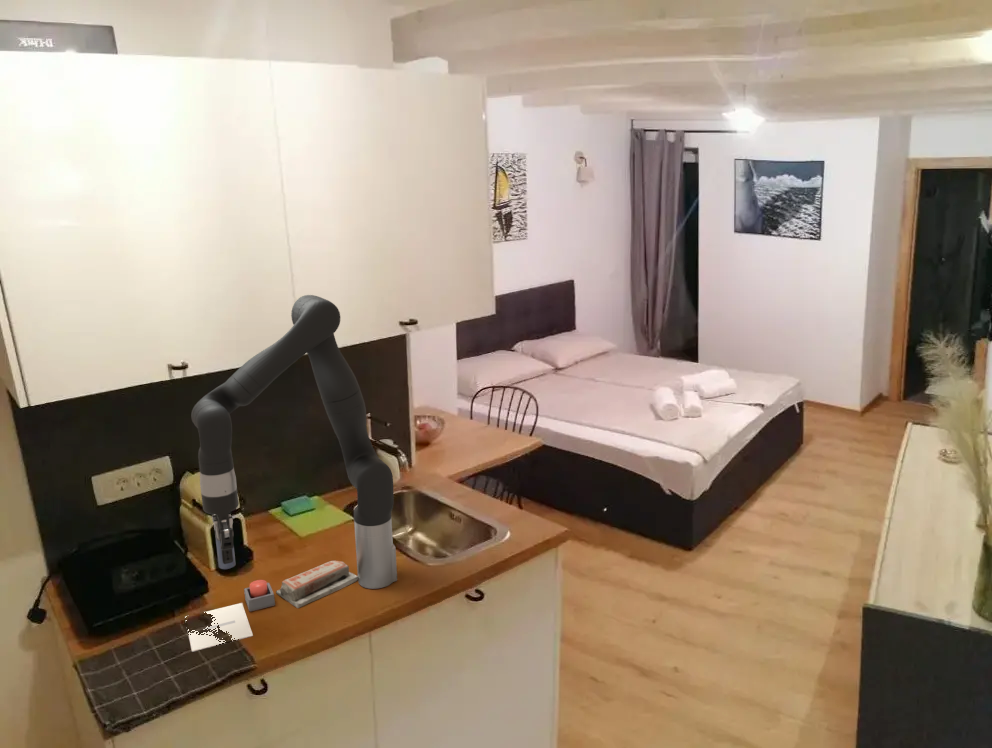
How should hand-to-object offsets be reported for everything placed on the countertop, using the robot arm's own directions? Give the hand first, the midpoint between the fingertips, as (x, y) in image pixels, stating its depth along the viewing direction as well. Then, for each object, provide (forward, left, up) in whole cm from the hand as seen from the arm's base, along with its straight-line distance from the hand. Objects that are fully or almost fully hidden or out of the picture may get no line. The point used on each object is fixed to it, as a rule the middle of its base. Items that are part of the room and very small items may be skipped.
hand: (226, 558), depth 178 cm
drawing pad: (+3, 0, -17) cm, 17 cm away
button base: (-7, -6, -17) cm, 19 cm away
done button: (-7, -6, -15) cm, 17 cm away
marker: (0, 0, -2) cm, 2 cm away
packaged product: (-21, -7, -17) cm, 28 cm away
